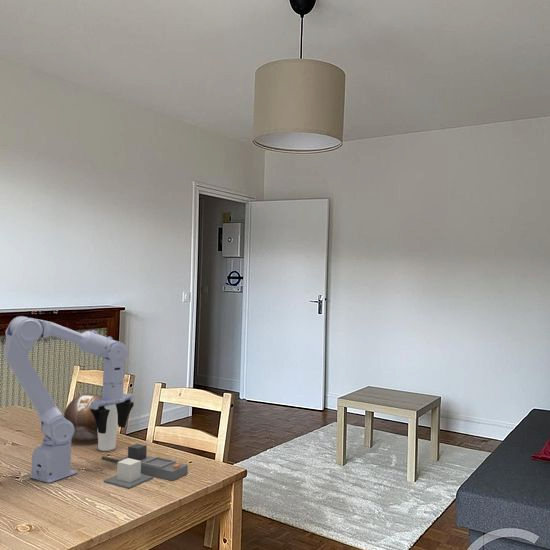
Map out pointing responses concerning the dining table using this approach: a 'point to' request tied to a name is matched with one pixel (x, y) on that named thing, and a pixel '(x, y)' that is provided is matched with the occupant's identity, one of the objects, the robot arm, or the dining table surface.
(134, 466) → the block
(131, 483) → the felt mat
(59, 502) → the dining table surface
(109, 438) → the drinking glass
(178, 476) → the power strip
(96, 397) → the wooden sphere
